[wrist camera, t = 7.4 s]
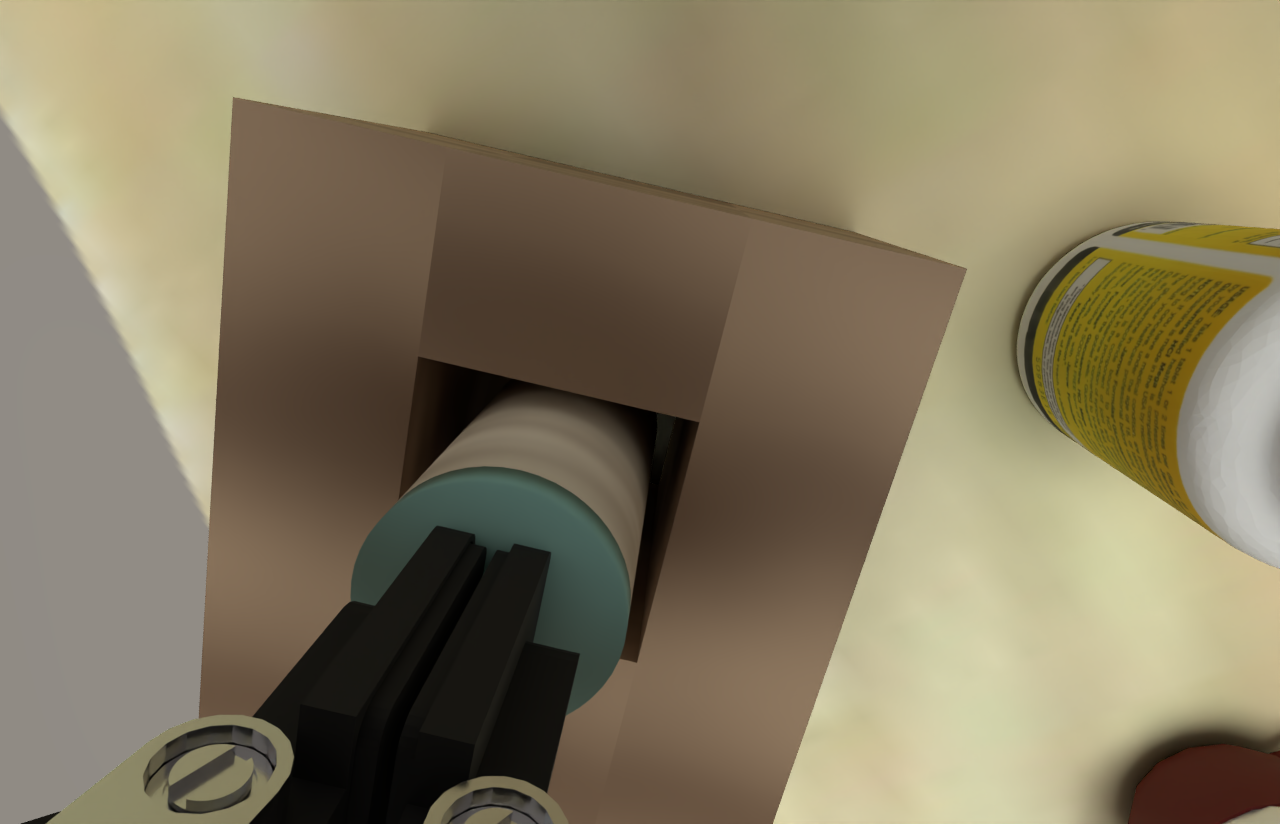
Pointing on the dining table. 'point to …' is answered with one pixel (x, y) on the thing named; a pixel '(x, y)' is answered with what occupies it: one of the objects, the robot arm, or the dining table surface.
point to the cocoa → (1210, 788)
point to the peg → (538, 512)
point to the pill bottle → (1169, 367)
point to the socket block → (575, 362)
